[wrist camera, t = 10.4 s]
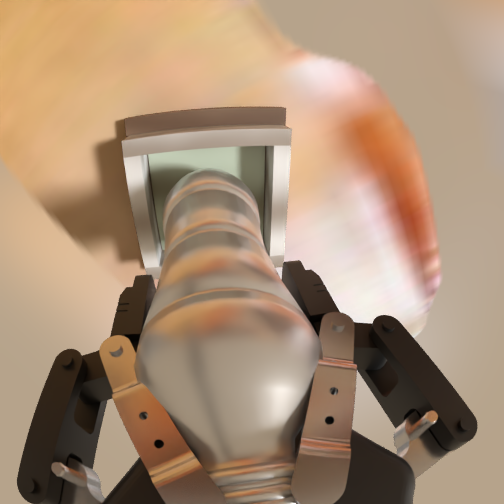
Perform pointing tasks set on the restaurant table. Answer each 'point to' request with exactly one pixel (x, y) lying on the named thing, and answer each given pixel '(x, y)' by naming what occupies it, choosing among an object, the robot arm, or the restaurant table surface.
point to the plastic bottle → (227, 341)
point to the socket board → (207, 156)
